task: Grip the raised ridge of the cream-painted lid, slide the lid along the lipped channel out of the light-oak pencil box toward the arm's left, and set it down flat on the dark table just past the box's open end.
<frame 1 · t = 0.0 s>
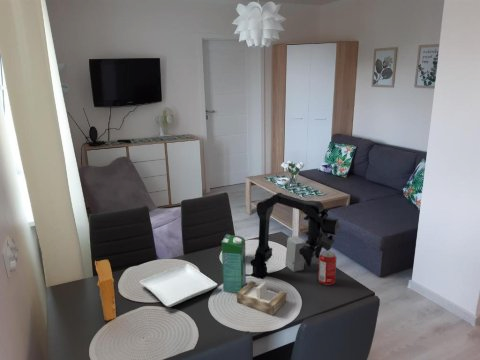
hand: (313, 262, 170), 15 cm above the table, fingers open, 9 cm apart
skincare box: (295, 267, 195), on the table
drinking glass: (236, 260, 205), on the table
lid: (261, 297, 165), point 2 cm above the table, touching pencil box
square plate: (178, 289, 178), on the table
milk carton: (234, 287, 178), on the table
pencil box: (261, 302, 166), on the table
red food canister: (326, 282, 181), on the table
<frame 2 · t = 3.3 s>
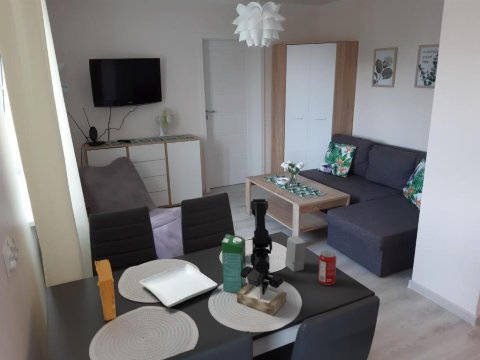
hand: (261, 294, 165), 4 cm above the table, fingers closed on lid
lid: (261, 297, 165), point 2 cm above the table, touching gripper, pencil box
everything else where it was.
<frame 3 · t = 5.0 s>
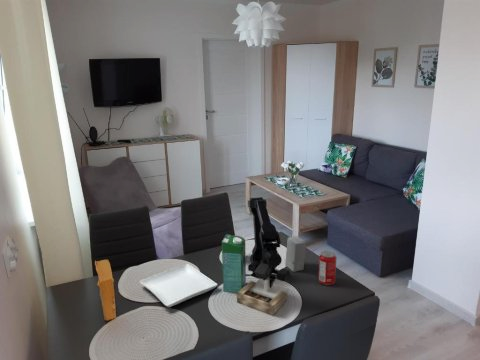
hand: (268, 287, 170), 4 cm above the table, fingers closed on lid
lid: (268, 290, 170), point 3 cm above the table, touching gripper
everything else where it was.
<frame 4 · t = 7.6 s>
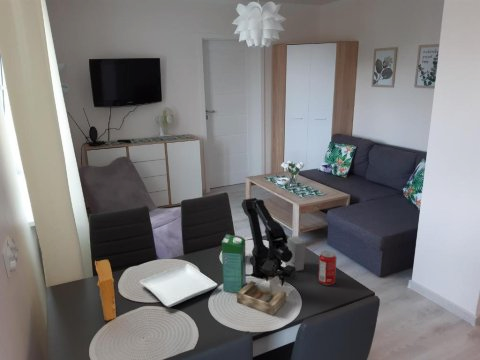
hand: (274, 283, 175), 3 cm above the table, fingers open, 8 cm apart
lid: (274, 290, 176), on the table
everything else where it was.
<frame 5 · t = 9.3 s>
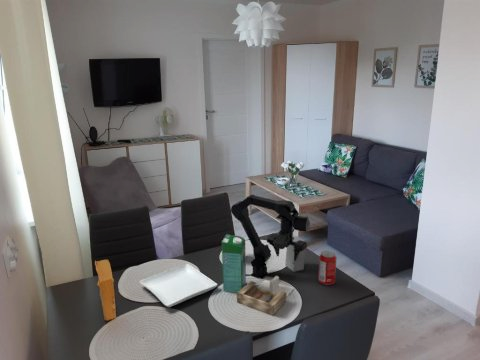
hand: (286, 258, 179), 12 cm above the table, fingers open, 9 cm apart
nothing on the table moved.
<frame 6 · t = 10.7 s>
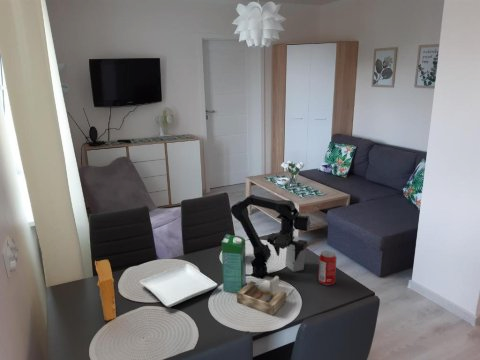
hand: (286, 258, 180), 12 cm above the table, fingers open, 9 cm apart
nothing on the table moved.
at the end: lid inside the target area (0.2 cm from its centre), on the table; lid tilted 0°; the gripper is holding nothing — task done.
